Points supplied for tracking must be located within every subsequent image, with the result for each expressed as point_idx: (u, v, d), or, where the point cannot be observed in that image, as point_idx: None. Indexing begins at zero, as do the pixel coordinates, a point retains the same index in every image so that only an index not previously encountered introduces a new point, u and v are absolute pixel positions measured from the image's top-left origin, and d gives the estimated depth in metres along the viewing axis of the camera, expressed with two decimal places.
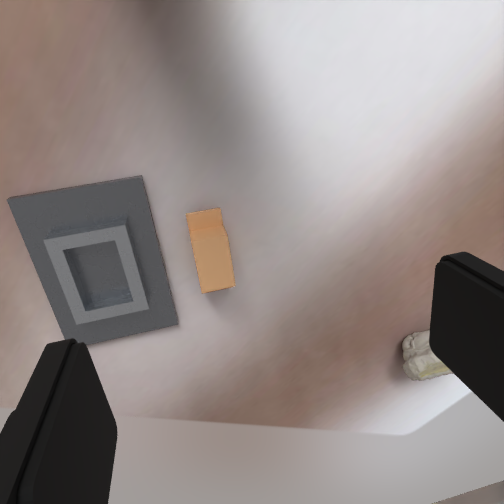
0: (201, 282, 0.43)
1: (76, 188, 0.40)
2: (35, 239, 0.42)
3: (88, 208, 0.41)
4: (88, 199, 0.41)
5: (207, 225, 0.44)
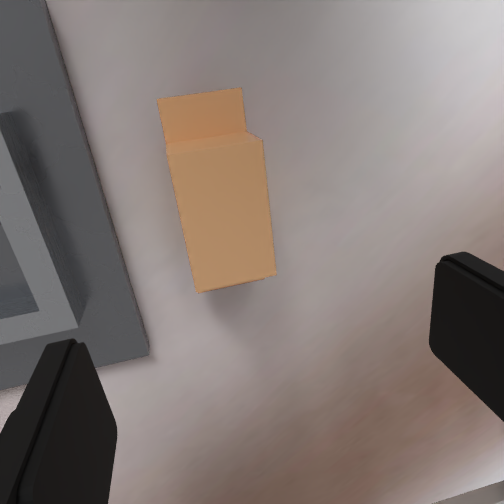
0: (195, 266, 0.17)
1: None
2: None
3: None
4: None
5: (210, 130, 0.18)
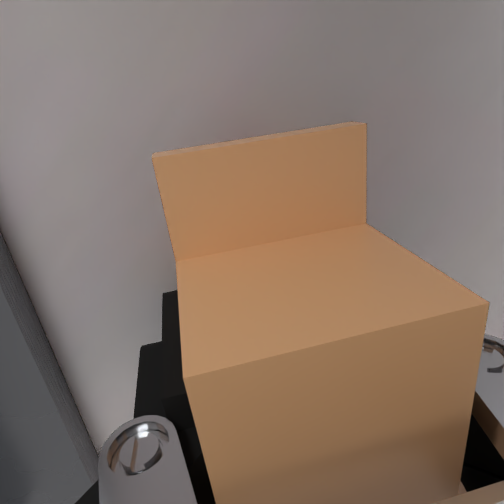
0: None
1: None
2: None
3: None
4: None
5: (283, 225, 0.07)
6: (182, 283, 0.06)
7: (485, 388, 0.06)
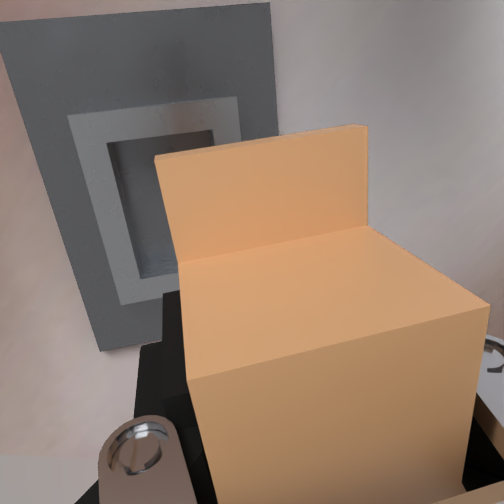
0: None
1: (139, 13, 0.19)
2: (49, 125, 0.20)
3: (160, 63, 0.20)
4: (162, 42, 0.20)
5: (285, 227, 0.07)
6: (184, 285, 0.06)
7: (485, 388, 0.06)
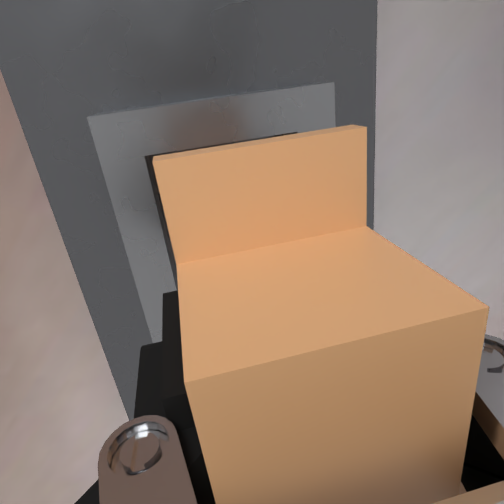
0: None
1: None
2: (58, 131, 0.14)
3: (217, 36, 0.14)
4: (221, 4, 0.13)
5: (284, 228, 0.07)
6: (183, 286, 0.06)
7: (485, 388, 0.06)
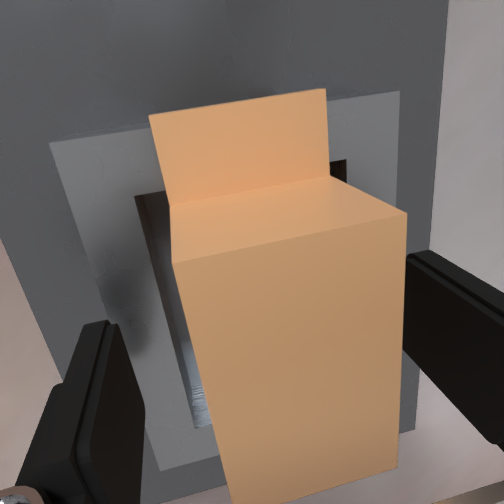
0: (235, 476, 0.08)
1: None
2: (16, 159, 0.10)
3: (236, 28, 0.10)
4: None
5: (259, 175, 0.09)
6: (174, 217, 0.08)
7: None
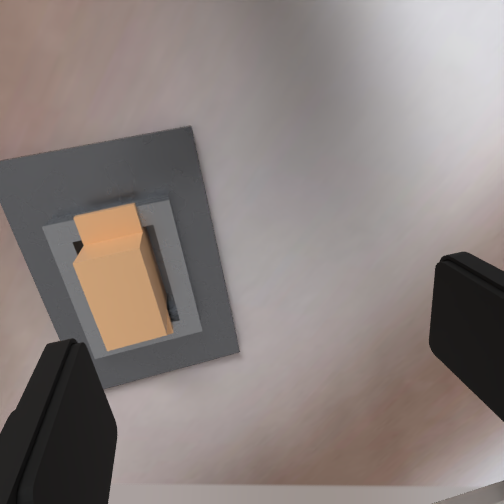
0: (103, 333, 0.24)
1: (92, 145, 0.26)
2: (30, 229, 0.27)
3: (111, 177, 0.27)
4: (111, 162, 0.26)
5: (115, 233, 0.26)
6: (82, 250, 0.24)
7: None
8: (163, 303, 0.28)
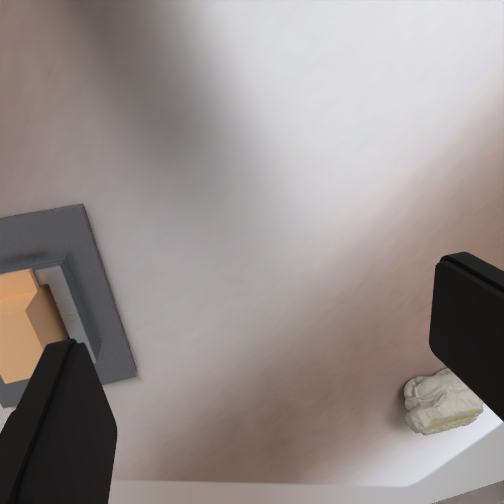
0: (1, 371, 0.32)
1: None
2: None
3: (16, 245, 0.34)
4: (15, 234, 0.33)
5: (15, 292, 0.33)
6: None
7: None
8: None
